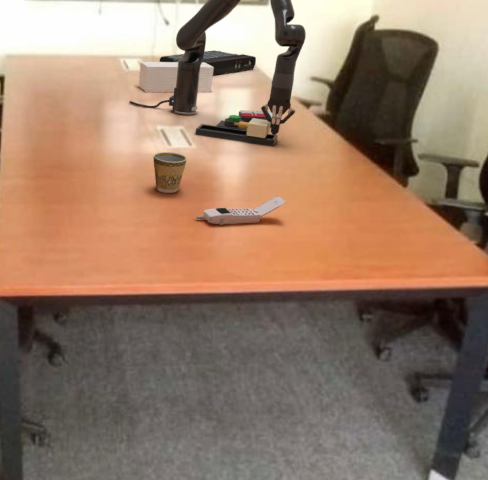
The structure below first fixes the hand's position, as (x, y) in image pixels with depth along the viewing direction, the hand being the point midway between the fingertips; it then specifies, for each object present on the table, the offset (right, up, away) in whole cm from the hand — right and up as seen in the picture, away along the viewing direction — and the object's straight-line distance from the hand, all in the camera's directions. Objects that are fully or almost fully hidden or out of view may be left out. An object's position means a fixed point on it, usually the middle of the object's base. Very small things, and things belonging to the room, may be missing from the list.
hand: (274, 134), depth 286 cm
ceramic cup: (-42, -34, -49) cm, 73 cm away
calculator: (-2, +13, +26) cm, 29 cm away
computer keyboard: (-13, +75, +117) cm, 139 cm away
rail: (-14, 0, +5) cm, 14 cm away
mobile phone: (-23, -49, -69) cm, 87 cm away
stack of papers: (-33, +45, +70) cm, 89 cm away
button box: (-13, +8, +16) cm, 22 cm away
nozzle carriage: (-9, 0, +3) cm, 9 cm away
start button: (-13, +10, +15) cm, 22 cm away
